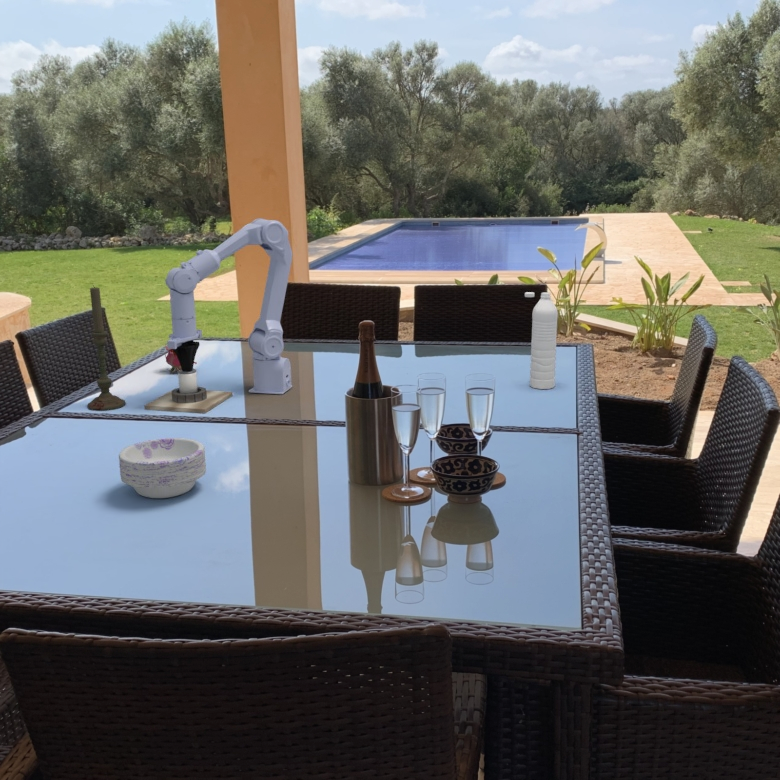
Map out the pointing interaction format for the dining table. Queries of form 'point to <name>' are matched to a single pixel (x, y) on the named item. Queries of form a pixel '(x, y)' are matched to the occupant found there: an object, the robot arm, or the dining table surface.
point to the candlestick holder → (101, 360)
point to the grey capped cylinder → (187, 382)
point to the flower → (173, 360)
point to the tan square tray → (189, 401)
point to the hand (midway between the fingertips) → (187, 371)
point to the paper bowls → (162, 466)
